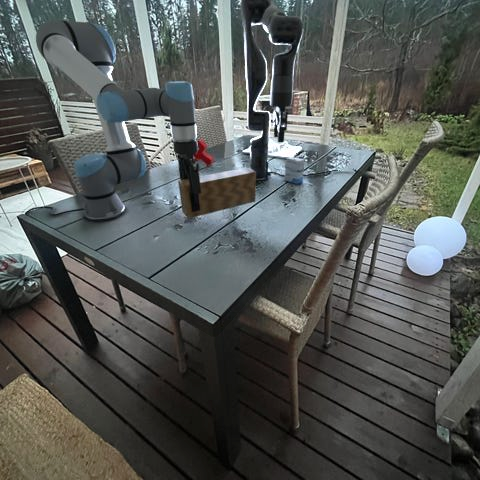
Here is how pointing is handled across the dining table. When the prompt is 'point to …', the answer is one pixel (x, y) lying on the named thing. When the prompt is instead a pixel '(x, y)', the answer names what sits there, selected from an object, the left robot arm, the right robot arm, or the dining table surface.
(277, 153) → the relief map
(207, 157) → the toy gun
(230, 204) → the box
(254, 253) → the dining table surface
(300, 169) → the ink box
